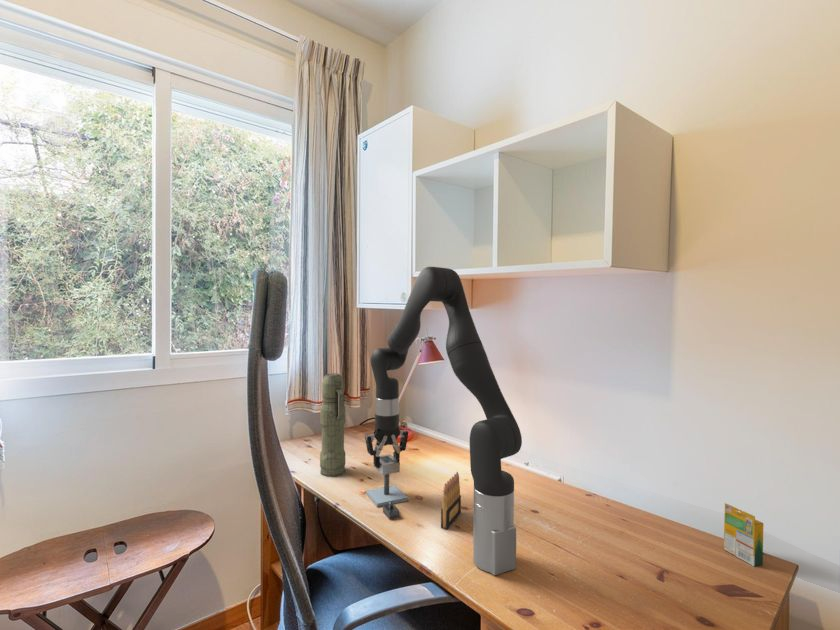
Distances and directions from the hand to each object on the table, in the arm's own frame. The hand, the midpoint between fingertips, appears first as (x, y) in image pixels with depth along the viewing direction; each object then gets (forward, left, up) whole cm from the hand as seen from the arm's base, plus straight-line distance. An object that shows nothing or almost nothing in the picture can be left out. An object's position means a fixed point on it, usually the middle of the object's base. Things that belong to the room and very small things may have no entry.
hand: (386, 465), depth 132 cm
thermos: (+27, +10, -10) cm, 30 cm away
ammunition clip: (-21, -11, -10) cm, 26 cm away
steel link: (0, 0, -1) cm, 1 cm away
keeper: (0, 0, -10) cm, 10 cm away
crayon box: (-66, -65, -10) cm, 93 cm away
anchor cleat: (-11, +3, -10) cm, 15 cm away
